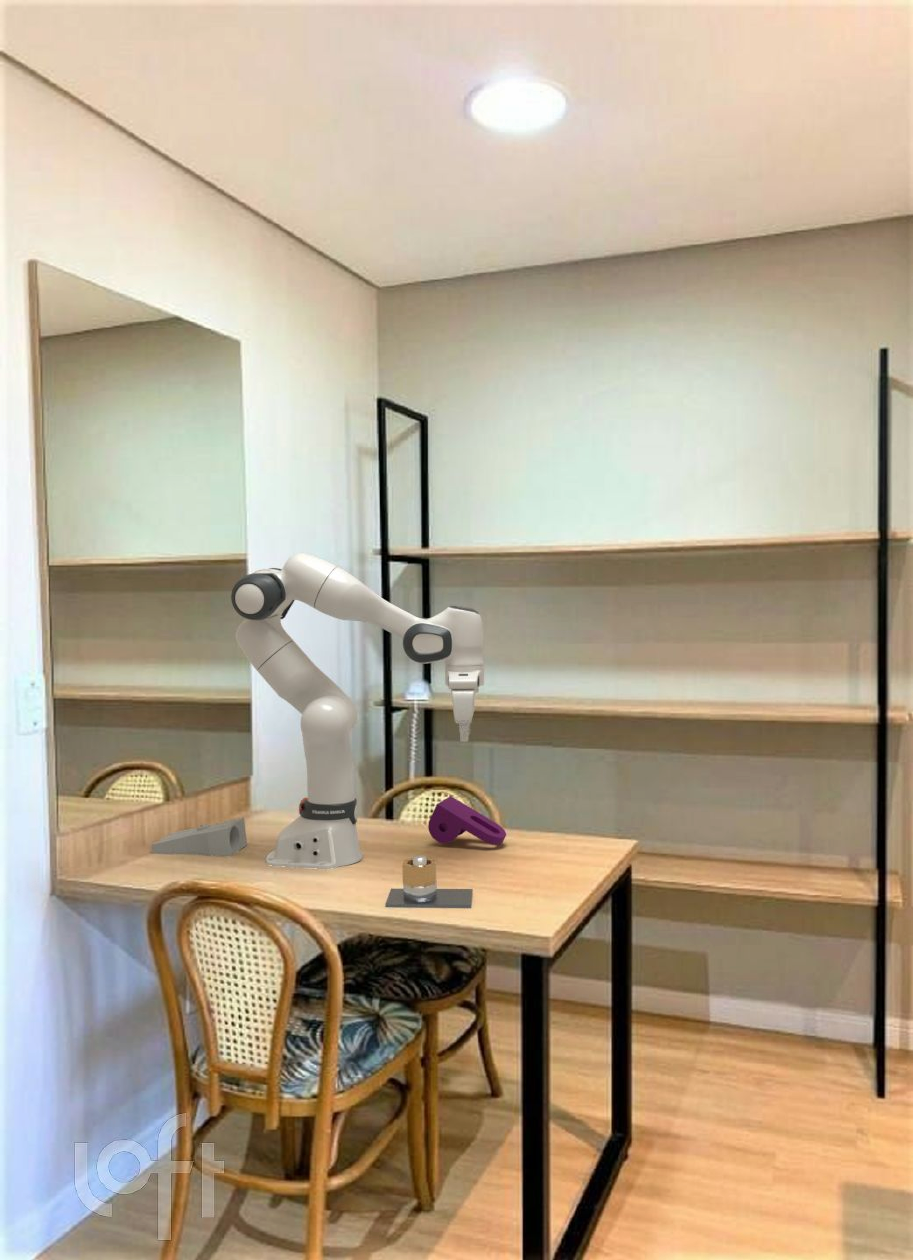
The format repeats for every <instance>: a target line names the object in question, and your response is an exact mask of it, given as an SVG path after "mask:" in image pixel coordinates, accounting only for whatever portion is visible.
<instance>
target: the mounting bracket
mask: <svg viewBox="0 0 913 1260" xmlns="http://www.w3.org/2000/svg"><path fill="white" fill-rule="evenodd" d="M427 825H428V828H427V829H428V832H429V835H430V836H431V838H433V840H434V841H436V842H438V843H440V844H449V843H451V842H452V841H454V840H455V839H457V838H458V837H459V836H461V835H462V834H464V833H465V832H467V833H469V834H471V835H472V836H474V837H475V838H477V839H478V840H480V841H483V842H484V843H487V844H490V845H494V846H500V845H502V844H503V842H504V840H505V839H506V836H507V832H506V831H505V829H504V828H503V827H502V826H501V825H499V824H498V823H497V822H495V821H493V820H491V819H490V818H488V816H485V815H484V814H482V813H480V812H478V811H476V809H473V808H472V807H471V806H469V805H467V804H465V803H463V802H462V801H460V800H458V799H457V798H455V797H454V796H452V795H450V796H448V797H447V798H444V799H443V800H441V801H439V802H438V803H437V804H436V805H435V808H434V810H433V811H432V814H431V816H430V818H429V820H428V823H427Z"/></svg>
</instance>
